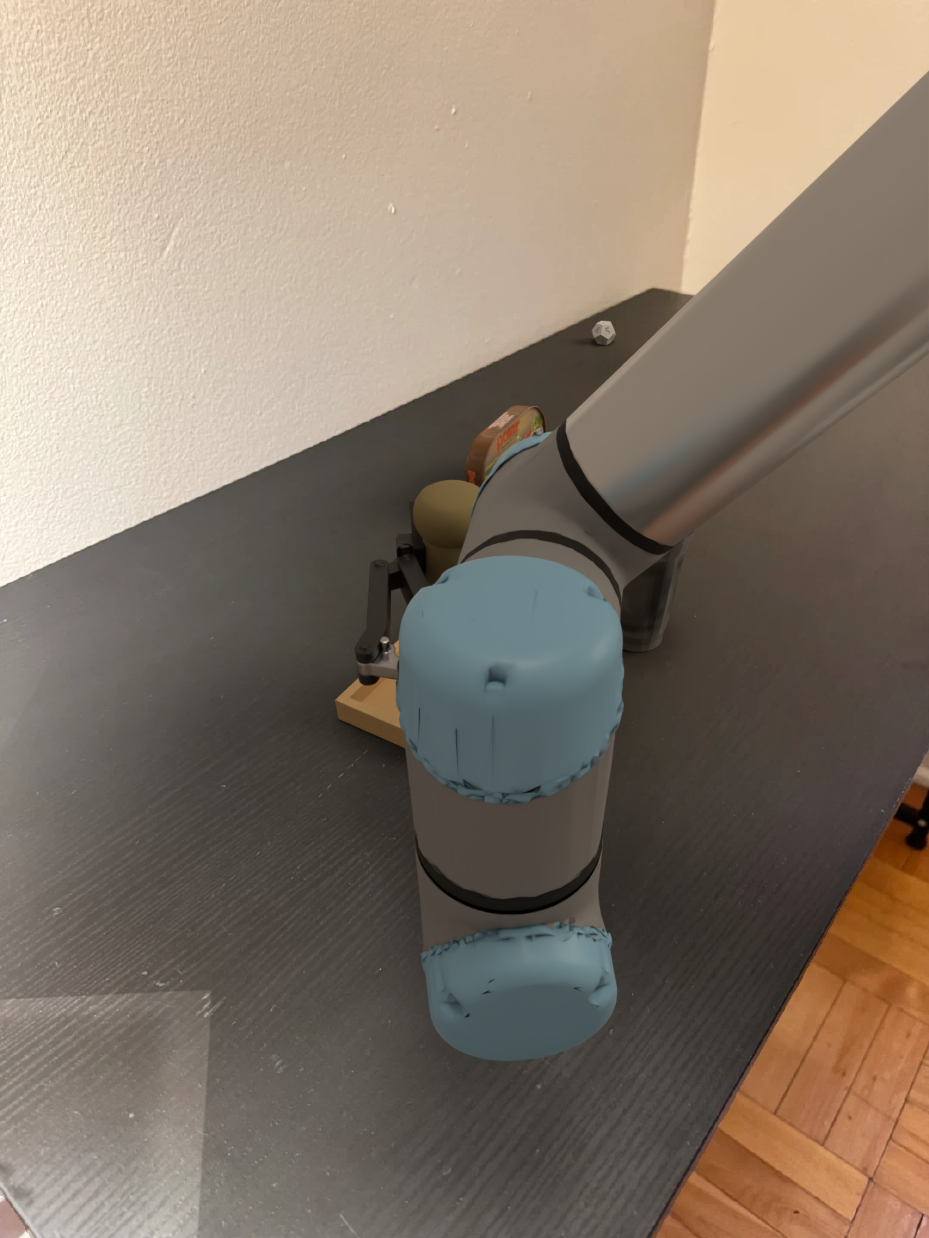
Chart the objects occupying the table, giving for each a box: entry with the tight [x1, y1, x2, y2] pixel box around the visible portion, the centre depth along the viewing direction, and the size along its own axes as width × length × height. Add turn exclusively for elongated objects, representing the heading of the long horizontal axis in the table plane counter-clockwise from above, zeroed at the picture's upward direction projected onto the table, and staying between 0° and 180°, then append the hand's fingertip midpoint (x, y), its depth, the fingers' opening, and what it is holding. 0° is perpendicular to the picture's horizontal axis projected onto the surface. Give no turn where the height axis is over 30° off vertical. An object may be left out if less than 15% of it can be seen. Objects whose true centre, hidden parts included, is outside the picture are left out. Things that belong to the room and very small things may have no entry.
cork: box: [413, 479, 480, 586], centre depth 59 cm, size 6×6×11 cm
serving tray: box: [334, 639, 405, 749], centre depth 66 cm, size 14×14×2 cm
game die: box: [591, 320, 617, 346], centre depth 128 cm, size 4×4×3 cm
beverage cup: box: [620, 531, 695, 653], centre depth 66 cm, size 7×7×20 cm
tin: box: [464, 404, 547, 488], centre depth 90 cm, size 15×3×8 cm, turn 151°
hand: (446, 515), depth 63 cm, fingers closed on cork, 4 cm apart
